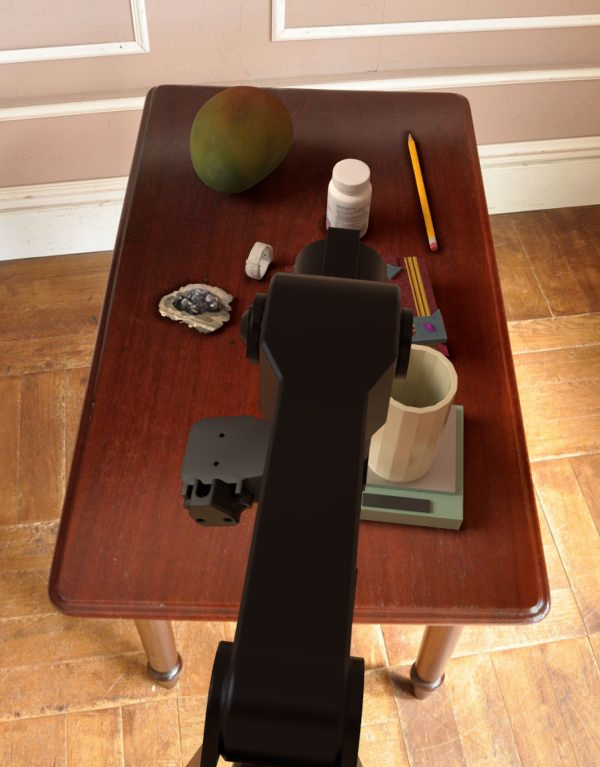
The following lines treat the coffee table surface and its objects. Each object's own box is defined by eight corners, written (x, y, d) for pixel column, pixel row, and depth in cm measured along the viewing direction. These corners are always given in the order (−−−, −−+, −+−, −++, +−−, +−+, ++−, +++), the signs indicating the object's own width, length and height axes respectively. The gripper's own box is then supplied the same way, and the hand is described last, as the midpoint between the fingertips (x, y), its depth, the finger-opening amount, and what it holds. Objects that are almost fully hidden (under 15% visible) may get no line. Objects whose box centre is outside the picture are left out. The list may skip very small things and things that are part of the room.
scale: (458, 530, 78) (464, 517, 75) (326, 515, 78) (328, 502, 76) (459, 417, 84) (464, 402, 82) (337, 404, 85) (339, 389, 82)
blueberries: (228, 338, 89) (227, 327, 87) (151, 331, 89) (149, 320, 87) (236, 288, 92) (236, 277, 91) (163, 282, 93) (161, 270, 91)
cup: (414, 495, 76) (435, 426, 66) (349, 460, 78) (360, 388, 68) (446, 440, 79) (471, 366, 69) (384, 408, 81) (398, 332, 71)
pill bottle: (327, 210, 99) (331, 153, 92) (368, 213, 99) (375, 157, 92) (324, 240, 97) (327, 185, 90) (366, 244, 96) (373, 189, 89)
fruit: (296, 143, 105) (298, 73, 97) (285, 216, 99) (285, 148, 90) (203, 134, 106) (196, 65, 98) (184, 207, 99) (176, 138, 91)
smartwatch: (260, 288, 93) (260, 263, 89) (242, 282, 93) (241, 257, 90) (273, 265, 94) (273, 239, 91) (255, 259, 95) (255, 234, 92)
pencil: (430, 251, 96) (431, 247, 96) (405, 135, 107) (406, 131, 106) (437, 251, 96) (438, 246, 96) (412, 135, 107) (412, 131, 106)
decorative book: (282, 290, 92) (283, 259, 88) (429, 279, 94) (436, 248, 90) (294, 377, 86) (295, 348, 82) (451, 364, 88) (459, 335, 83)
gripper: (214, 292, 55) (227, 415, 68) (150, 567, 45) (179, 649, 58) (387, 312, 55) (366, 432, 68) (360, 596, 45) (341, 672, 58)
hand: (313, 537), depth 63 cm, fingers open, 9 cm apart
